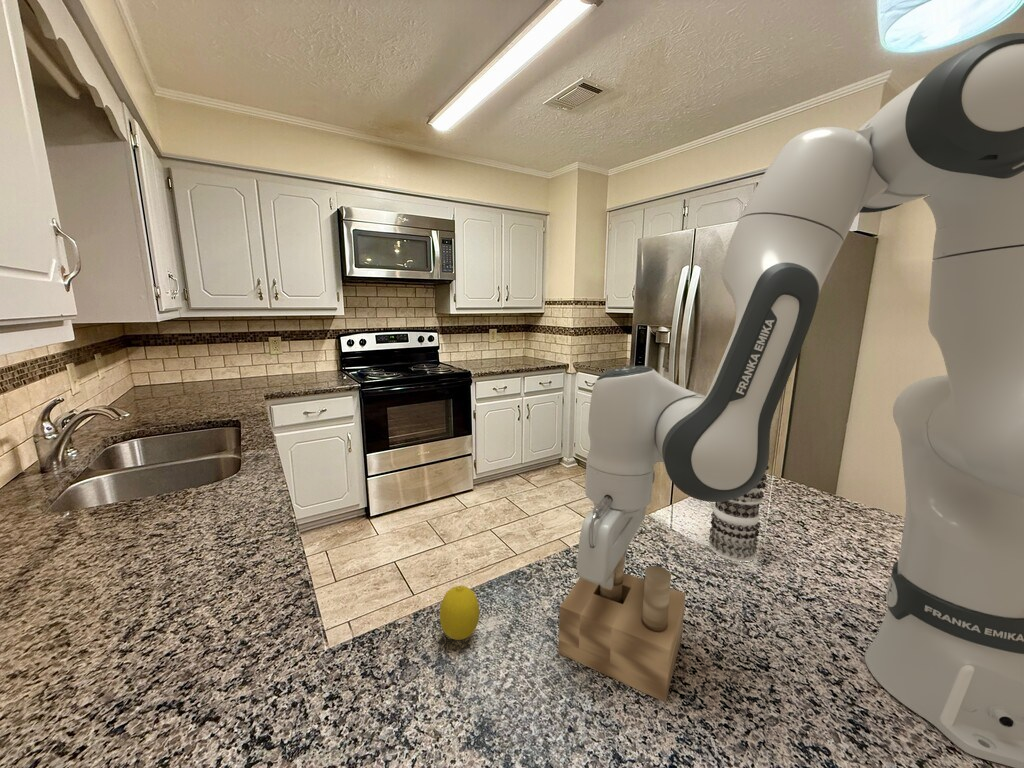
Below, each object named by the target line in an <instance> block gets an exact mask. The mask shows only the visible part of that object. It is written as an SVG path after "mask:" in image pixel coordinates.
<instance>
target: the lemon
mask: <svg viewBox="0 0 1024 768" xmlns="http://www.w3.org/2000/svg"><path fill="white" fill-rule="evenodd" d="M439 621H440V625H441V629H442V630H443V632H444V634H445V635H446V636H447V637H449V638H450V639H453V640H456V641H460V640H465V639H467V638H469V637H470V636H471V635H472V634H473V633H474V632H475V630H476V628H477V626H478V625H479V621H480V605H479V601H478V598H477V595H476V594H475V592H474V590H472V589H471V588H469V587H468V586H465V585H456V586H453V587H452V588H450V589H448V590H447V592H446V593H445V594H444V596H443V598H442V600H441V604H440V609H439Z"/></svg>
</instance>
